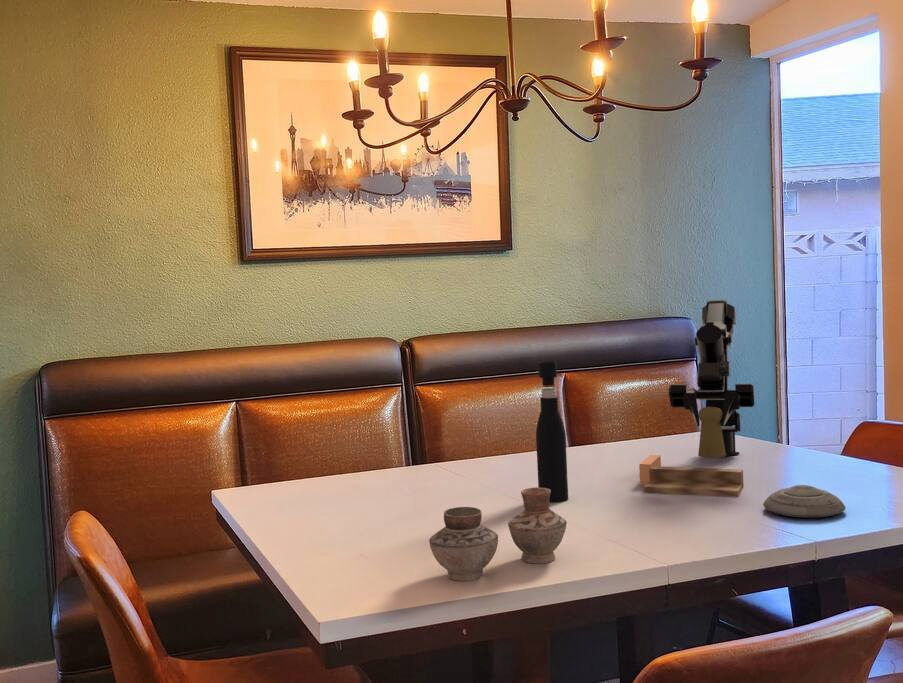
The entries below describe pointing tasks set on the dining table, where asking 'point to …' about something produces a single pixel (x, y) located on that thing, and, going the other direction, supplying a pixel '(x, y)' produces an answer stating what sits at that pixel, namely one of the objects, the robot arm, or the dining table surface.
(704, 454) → the cork
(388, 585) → the dining table surface
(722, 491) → the guide rail
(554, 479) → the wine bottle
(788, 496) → the flying saucer
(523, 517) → the pottery
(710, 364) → the robot arm
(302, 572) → the dining table surface
